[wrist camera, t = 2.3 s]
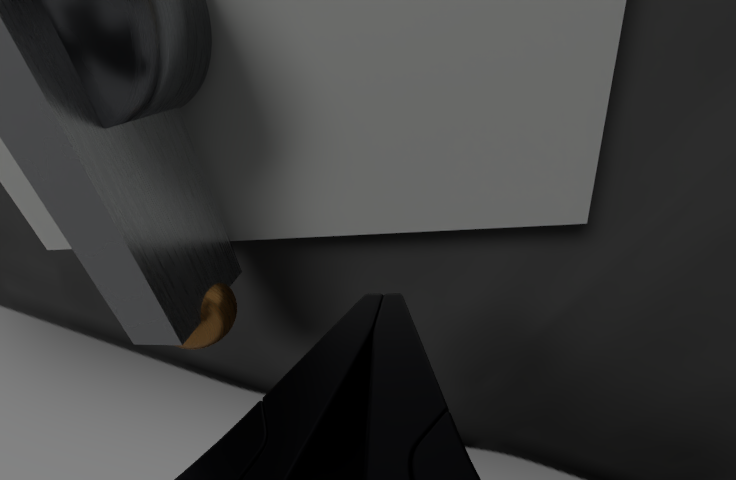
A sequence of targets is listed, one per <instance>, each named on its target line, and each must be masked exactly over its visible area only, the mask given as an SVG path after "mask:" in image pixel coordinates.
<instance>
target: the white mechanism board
mask: <svg viewBox="0 0 736 480" xmlns="http://www.w3.org/2000/svg"><path fill="white" fill-rule="evenodd" d="M206 3H207V7H208V11H209V17H210V24H211V36H212V47H211V58H210V63H209V68H208V71H207V74H206V77H205V80H204V82H203V84H202V86H201V88H200V89H199V91H198V92H197V94H196V95H195V96H194V97H193V98H192V99H191V100H190V101H189V102H188V103H187V104H186V105H184V106H183V107H181V108H180V109H179V110H180V112H181V115H182V117H183V120H184V123H185V125H186V128H187V130H188V133H189V136H190V138H191V141H192V143H193V146H194V149H195V151H196V154H197V156H198V159H199V161H200V164H201V167H202V169H203V172H204V174H205V177H206V180H207V182H208V185H209V187H210V190H211V193H212V195H213V198H214V200H215V203H216V205H217V208H218V211H219V213H220V216H221V218H222V221H223V224H224V226H225V229H226V231H227V234H228V237H229V239H230V241H244V240H264V239H284V238H305V237H325V236H345V235H366V234H386V233H407V232H427V231H447V230H468V229H488V228H508V227H529V226H549V225H570V224H587V220H588V214H589V209H590V203H591V197H592V192H593V186H594V180H595V175H596V169H597V163H598V158H599V152H600V146H601V141H602V135H603V129H604V124H605V118H606V112H607V107H608V101H609V95H610V90H611V84H612V78H613V73H614V67H615V61H616V56H617V50H618V44H619V39H620V33H621V27H622V22H623V16H624V10H625V5H626V0H206ZM0 182H1V183H2V185H3V186H4V188H5V189H6V191H7V192H8V193H9V195H10V196H11V198H12V199H13V201H14V202H15V204H16V205H17V207H18V208H19V209H20V211H21V212H22V214H23V215H24V217H25V218H26V220H27V221H28V223H29V224H30V225H31V227H32V228H33V230H34V231H35V233H36V234H37V236H38V237H39V239H40V240H41V241H42V243H43V244H44V246H45V247H46V249H47V250H60V249H72V248H71V246H70V245H69V243H68V242H67V240H66V239H65V237H64V235H63V234H62V232H61V231H60V229H59V228H58V226H57V225H56V223H55V221H54V220H53V218H52V217H51V215H50V214H49V212H48V211H47V209H46V208H45V206H44V204H43V203H42V201H41V200H40V198H39V197H38V195H37V194H36V192H35V191H34V189H33V187H32V186H31V184H30V183H29V181H28V180H27V178H26V177H25V175H24V174H23V172H22V170H21V169H20V167H19V166H18V164H17V163H16V161H15V160H14V158H13V156H12V155H11V153H10V152H9V150H8V149H7V147H6V146H5V144H4V143H3V141H2V139H1V138H0Z"/></svg>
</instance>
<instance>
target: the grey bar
mask: <svg viewBox="0 0 736 480" xmlns="http://www.w3.org/2000/svg"><path fill="white" fill-rule="evenodd" d="M211 47H212V36H211V24H210V17H209V11H208V7H207V3H206V0H0V138H1V139H2V141H3V143H4V144H5V146H6V147H7V149H8V150H9V152H10V153H11V155H12V156H13V158H14V160H15V161H16V163H17V164H18V166H19V167H20V169H21V170H22V172H23V174H24V175H25V177H26V178H27V180H28V181H29V183H30V184H31V186H32V187H33V189H34V191H35V192H36V194H37V195H38V197H39V198H40V200H41V201H42V203H43V204H44V206H45V208H46V209H47V211H48V212H49V214H50V215H51V217H52V218H53V220H54V221H55V223H56V225H57V226H58V228H59V229H60V231H61V232H62V234H63V235H64V237H65V239H66V240H67V242H68V243H69V245H70V246H71V248H72V249H73V251H74V252H75V254H76V256H77V257H78V259H79V260H80V262H81V263H82V265H83V266H84V268H85V269H86V271H87V273H88V274H89V276H90V277H91V279H92V280H93V282H94V283H95V285H96V287H97V288H98V290H99V291H100V293H101V294H102V296H103V297H104V299H105V300H106V302H107V304H108V305H109V307H110V308H111V310H112V311H113V313H114V314H115V316H116V317H117V319H118V321H119V322H120V324H121V325H122V327H123V328H124V330H125V331H126V333H127V334H128V336H129V338H130V339H131V341H132V342H133V344H144V345H174V346H177V347H180V348H183V349H201V348H205V347H208V346H211V345H213V344H215V343H217V342H218V341H220V340H221V339H222V338H223V337H224V336H225V335H226V334H227V333H228V332H229V331H230V329H231V328H232V326H233V324H234V321H235V319H236V314H237V303H236V298H235V296H234V294H233V291H232V290H231V289H230V286H231V285H232V284H233V282H234V281H235V280H236V279H237V277H238V276H239V275H240V274H241V272H242V270H241V268H240V265H239V262H238V260H237V257H236V255H235V252H234V249H233V247H232V244H231V242H230V239H229V237H228V234H227V231H226V229H225V226H224V224H223V221H222V218H221V216H220V213H219V211H218V208H217V205H216V203H215V200H214V198H213V195H212V193H211V190H210V187H209V185H208V182H207V180H206V177H205V174H204V172H203V169H202V167H201V164H200V161H199V159H198V156H197V154H196V151H195V149H194V146H193V143H192V141H191V138H190V136H189V133H188V130H187V128H186V125H185V123H184V120H183V117H182V115H181V112H180V110H179V109H180V108H181V107H183V106H184V105H186V104H187V103H188V102H189V101H190V100H191V99H192V98H193V97H194V96H195V95H196V94H197V92H198V91H199V89H200V88H201V86H202V84H203V82H204V80H205V77H206V74H207V71H208V68H209V63H210V58H211Z"/></svg>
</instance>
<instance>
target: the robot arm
mask: <svg viewBox="0 0 736 480" xmlns="http://www.w3.org/2000/svg"><path fill="white" fill-rule="evenodd" d="M175 480H480V477H479V475H478V474H477V472H476V470H475V468H474V466H473V464H472V462H471V460H470V458H469V455H468V453H467V451H466V449H465V446H464V444H463V442H462V440H461V437H460V435H459V433H458V431H457V428H456V426H455V423H454V421H453V418H452V416H451V414H450V412H449V409H448V406H447V404H446V402H445V399H444V397H443V394H442V392H441V389H440V387H439V384H438V382H437V379H436V377H435V374H434V372H433V369H432V367H431V365H430V362H429V360H428V357H427V355H426V352H425V350H424V347H423V345H422V342H421V340H420V337H419V335H418V332H417V330H416V328H415V325H414V323H413V320H412V318H411V315H410V313H409V310H408V308H407V305H406V303H405V300H404V298H403V296H402V294H385V295H384V296H383V295H382V294H366V295H364V296H363V297H362V298H361V299H360V300H359V301H358V302H357V303H356V304H355V305H354V306H353V307H352V308H351V309H350V310H349V311H348V312H347V313H346V314H345V315H344V316H343V317H342V318H341V319H340V320H339V321H338V322H337V323H336V324H335V325H334V326H333V327H332V328H331V329H330V330H329V332H328V333H327V334H326V335H325V336H324V337H323V338H322V339H321V340H320V341H319V342H318V343H317V344H316V345H315V346H314V347H313V348H312V349H311V350H310V351H309V352H308V353H307V354H306V355H305V356H304V357H303V358H302V359H301V360H300V361H299V362H298V363H297V364H296V365H295V366H294V367H293V368H292V369H291V370H290V371H289V372H288V373H287V374H286V375H285V376H284V377H283V378H282V379H281V380H280V381H279V382H278V383H277V384H276V385H275V386H274V387H273V388H272V389H271V390H270V391H269V392H268V393H267V394H266V395H265V396H264V397H263V401H259V402H258V403H257V404H256V405H255V406H254V407H253V408H252V409H251V410H250V411H249V412H248V413H247V414H246V415H245V416H244V417H243V418H242V419H241V420H240V421H239V422H238V423H237V424H236V425H235V426H234V427H233V428H232V429H231V430H230V431H228V433H227V434H225V435H224V436H223V437H222V438H221V439H220V440H219V441H218V442H217V443H216V444H215V445H213V446H212V447H211V448H210V449H209V450H208V451H207V452H206V453H204V454H203V455H202V456H201V457H200V458H199V459H198V460H197V461H195V462H194V463H193V464H192V465H191V466H190V467H189V468H187V469H186V470H185V471H184V472H183V473H182V474H180V475H179V476H178V477H177V478H176V479H175Z"/></svg>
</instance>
